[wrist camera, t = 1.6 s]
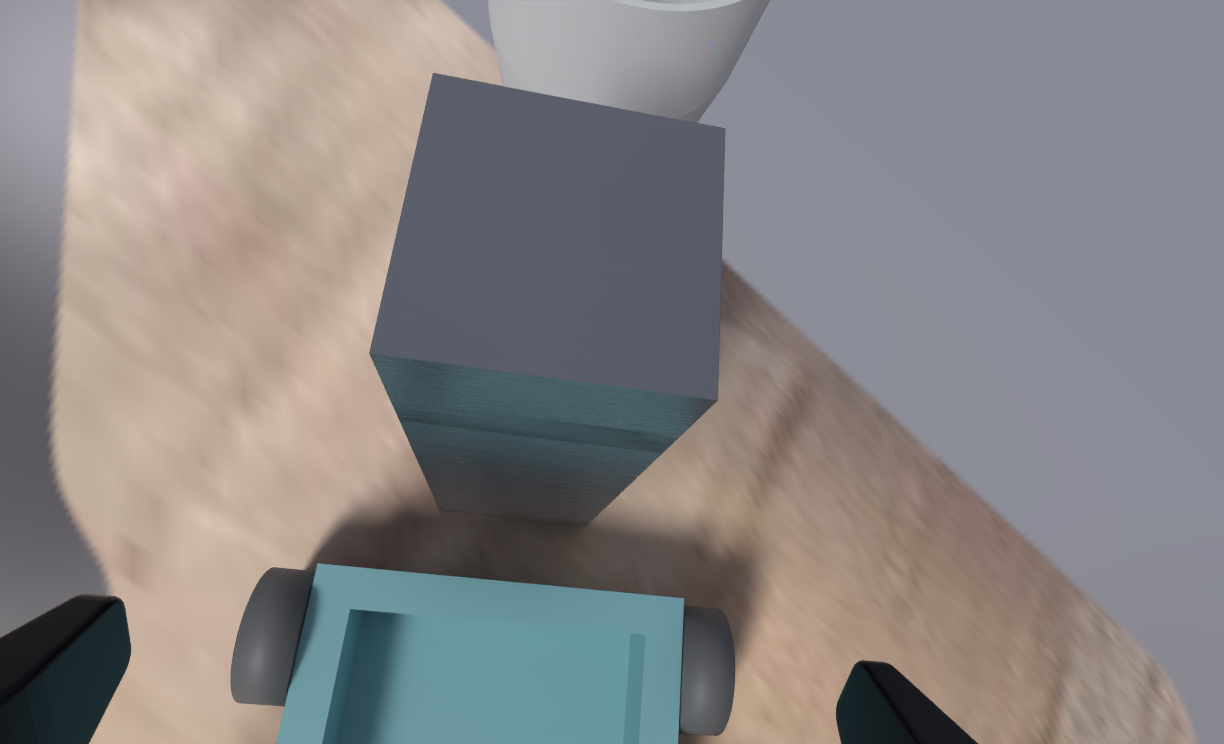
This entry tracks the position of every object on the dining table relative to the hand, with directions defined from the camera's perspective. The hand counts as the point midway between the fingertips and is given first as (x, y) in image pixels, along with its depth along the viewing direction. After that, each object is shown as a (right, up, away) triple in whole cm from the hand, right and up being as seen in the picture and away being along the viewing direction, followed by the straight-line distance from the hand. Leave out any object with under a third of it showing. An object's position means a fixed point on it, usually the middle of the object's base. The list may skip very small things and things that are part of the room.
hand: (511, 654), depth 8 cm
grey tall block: (-2, +1, +13) cm, 13 cm away
